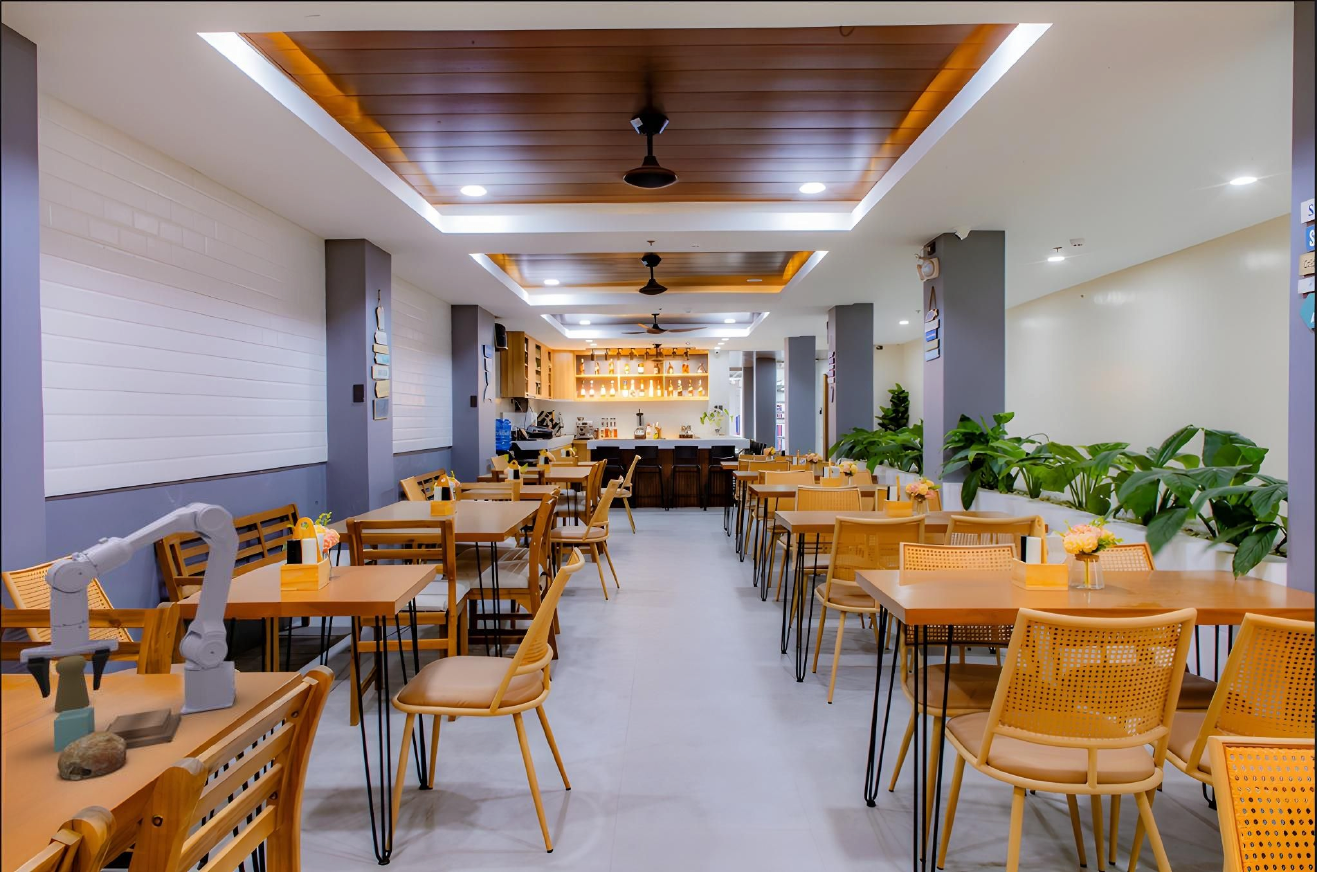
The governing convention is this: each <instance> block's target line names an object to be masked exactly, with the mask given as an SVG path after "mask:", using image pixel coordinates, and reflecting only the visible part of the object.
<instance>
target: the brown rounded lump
mask: <svg viewBox="0 0 1317 872" xmlns="http://www.w3.org/2000/svg"><path fill="white" fill-rule="evenodd" d="M126 748H127V746H126V741H125V740H124V739H123V738H121V737H120V736H117V735H116V734H113V733H110V732H105V731H95V732H93V733H91V734H89V735H87V736H85V737H83V738H80V739H78V740H77V741H75V742H73V743H71V744H69V745H68V746H67V747H66V748H65V749H64V750H63V751H61V752H60V755H59V757H58V758H57V759H58V760H57V769H58V772H59V775H60V776H61V777H62V778H64V779H66V780H71V781H72V782H73V781H78V780H84V779H85V780H86V779H89V777H91V778H94V777H97V776H100V775H101V776H103V775H106V774H109V773H112V772H114V771H116V770H119V769H120V768H121V767H123V765H125V764H126V761H127V760H126V759H127V758H126V757H127V749H126Z"/></svg>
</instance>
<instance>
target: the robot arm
mask: <svg viewBox="0 0 1317 872" xmlns="http://www.w3.org/2000/svg"><path fill="white" fill-rule="evenodd" d="M233 518H234V517H233V515H232V514H231V513H230V512H229V511H228V510H227V509H225V508H224V507H223V506H221V505H219V504H208V503H204V502H201V501H200V502H199V501H198V502H197V501H195V502H192V503H189V504H187V505H186V506H185V507H184V506H183V507H180V508H177V509H175V510H173V511H172V512H169V513H168V514H166V515H164V516H161V517H160V518H159V519H157V520H155V521H153V522H152V523H150V524H148V525H146V526H144V527H142V528H140V529H138V530H136V531H135V532H133V533H131V534H129V535H127V536H126V537H124V538H122V537H117V536H112V537H109V538H107V537H103V538H100V539H99V540H98V543H97V544H95V545H93V546H91V547H89V548H87V549H86V550H83V551H82V552H78V551H76V552H74V553H72V554H71V557H72V558H68V559H67V558H66V559H65V558H64V559H60V560H57V561H55V562H53V563H52V564H51V565H50V567H49V568H48V569H47V572H46V574H45V575H44V581H45V582H46V584H47V585H48V586H49V587H50V590H49V591H50V594H49V597H50V601H49V615H50V616H49V617H50V620H49V621H50V644H49V645H44V646H39V647H31V648H25V649H22V650H21V652H20V653H19V654H20V655H19V658H20V663H26V662H27V664H26V669H27V671H28V672H29V673H30V674H31V676H32V677H33V678H34V680H35V681H36V684H37V686H38V687H39V690H40V693H41V697H42V699H45V698H48V697H49V696H50V695H51V682H50V668H51V667H50V666H51V659H53V658H61V657H68V656H76V655H81V654H82V655H83V654H92V656H91V664H92V673H93V677H92V678H93V680H92V690H93V691H99V690H100V688H101V681H102V677H103V674H104V670H105V668H106V664H107V663H108V660H109V658H110V656H111V654H112V652H114V651H117V650H118V648H119V638H117V637H116V638H107V639H106V638H105V639H90V618H89V617H90V616H89V614H90V613H89V612H90V611H89V610H90V609H89V596H88V586H89V585H90V584H91V583H92V581H93V579H97V578H99V577H101V576H103V575H105V574H107V573H109V572H110V571H111V572H112V571H113V570H115V569H116V568H119V567H120V566H122V565H124V564H126V563H128V562H129V561H131V558H132V556H133V554H134V552H136V551H139V550H141V549H142V548H145V547H146V546H149V545H151V544H153V543H155V542H158V541H159V540H162V539H163V538H166V537H168V536H170V535H173V534H175V533H194V534H196V535H198V536H200V538H201V539H202V540H203V541H205V542H206V544H207V545H208V546H209V553H208V558H207V561H206V562H207V563H206V567H205V571H204V577H203V580H202V586H201V590H200V594H199V598H198V604H197V609H196V614H195V617H194V620H192V621H191V622H190V624H189V625H188V628H187V632H186V633H185V636H183V638H182V639H181V641H180V644H179V652H180V655H181V656H182V657H183V658H184V659H185V663H184V665H183V667H184V668H183V673H184V674H183V677H184V703H183V705H182V707H181V710H180V712H179V713H181V715H185V714H191V713H192V714H193V713H200V712H204V711H211V710H217V709H223V708H231V707H233V705H234V700H235V697H236V694H237V687H236V677H235V676H236V674H235V673H236V672H235V661H225V660H224V659H225V658H226V657H227V654H228V650H229V649H228V645H227V641H226V639H227V629H226V626H225V624H224V616H225V612H226V608H227V604H228V599H229V592H230V589H231V584H232V579H233V575H234V574H233V573H234V570H235V569H234V568H235V565H236V559H237V555H238V551H239V545H240V538H239V535H238V533H237V530H236V527H235V524H234V523H233V522H234V521H233Z"/></svg>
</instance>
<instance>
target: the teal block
mask: <svg viewBox="0 0 1317 872" xmlns="http://www.w3.org/2000/svg"><path fill="white" fill-rule="evenodd" d="M95 727H96V726H95V706H91V707H90V706H88V707H85V708H82V709H75V710H68V711H62V712H61V713H58V715H57V717H56V718H55V719H54V720H53V740H54V742H53V744H54V753H59V752H60V753H61V752H62V751H63V750H64V749H65V748H66V747H67V746H68V745H69V744H71V743H73V742H75V741H77V740H78V739H80V738H83V737H85V736H87V735H89V734H91V733H93V732H96V731H95V729H96V728H95Z"/></svg>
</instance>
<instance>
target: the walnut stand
mask: <svg viewBox="0 0 1317 872" xmlns="http://www.w3.org/2000/svg"><path fill="white" fill-rule="evenodd" d="M181 720H182V714H181V713H180V712H179V713H172V708H171V707H170V708H169V707H168V708H163V709H158V710H157V709H156V710H151V711H144V712H138V713H137V712H136V713H131V714H130V713H129V714H125V715H118V716H117V717H116V718H115V719H114V721H113V722H112V723H109V725H108V727H107V729H106V730H105V731H104V732H110V733H113V734H116V735H117V736H120V737H121V738H123V739H124V740H125V741H126V746H127V748H126V750H129V749H135V748H141V747H147V746H153V745H158V744H159V743H160V744H163V743H164V742H166V743H169V742H168V741H171V742H172V740H173V738H174V736H175V733H176V731H177V729H178V727H179V725H180V722H181ZM164 744H165V743H164Z"/></svg>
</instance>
